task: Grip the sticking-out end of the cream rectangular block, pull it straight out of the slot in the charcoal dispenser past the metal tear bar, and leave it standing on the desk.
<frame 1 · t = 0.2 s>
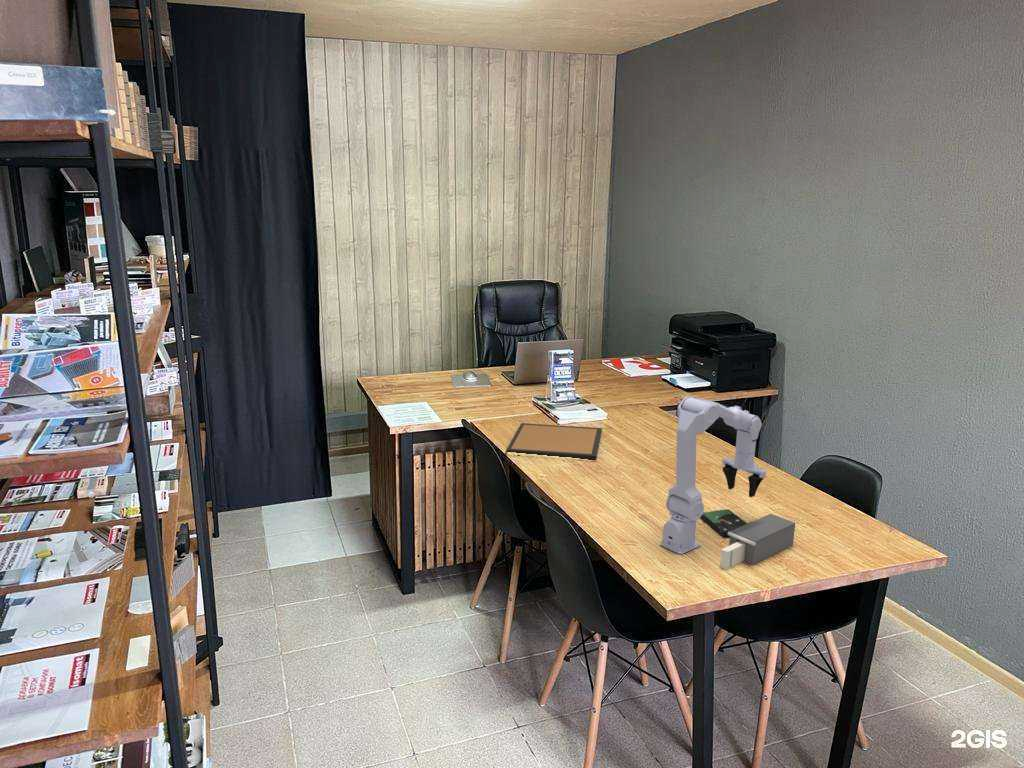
hand: (741, 492, 234), 10 cm above the table, tool pointing down, fingers open, 7 cm apart
dispenser: (752, 553, 216), on the table
cream rectangular block: (740, 560, 212), on the table
disk drive: (725, 528, 234), on the table
cork board: (556, 445, 309), on the table
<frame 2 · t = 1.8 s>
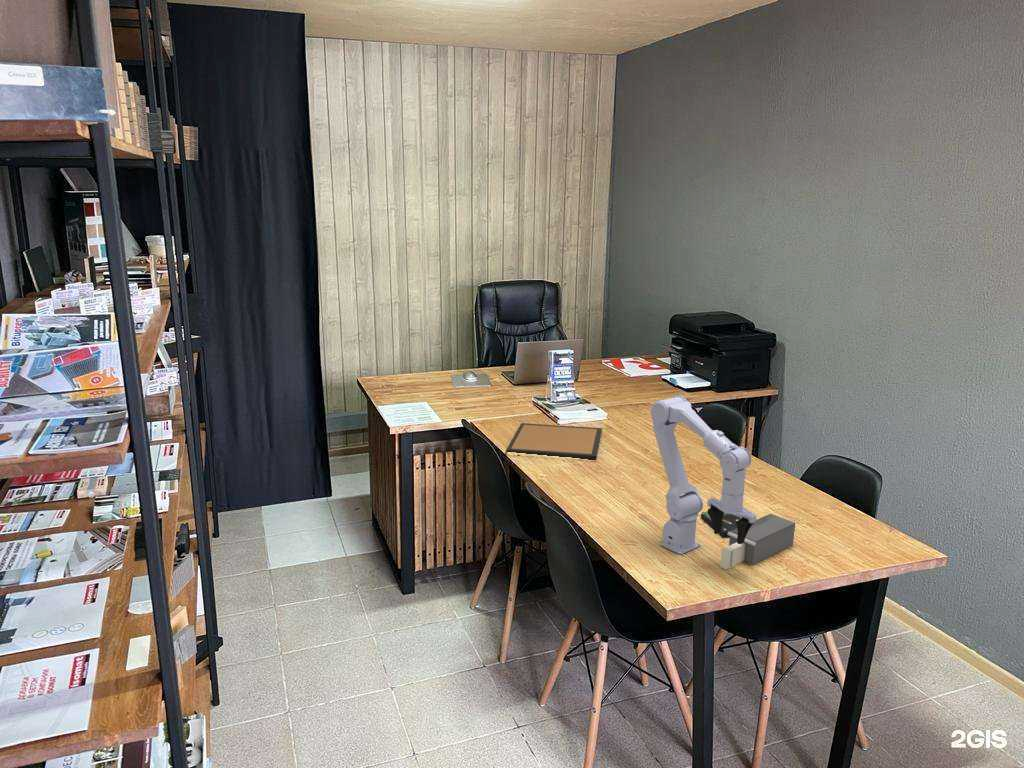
hand: (728, 537, 206), 9 cm above the table, tool pointing down, fingers open, 7 cm apart
nothing on the table moved.
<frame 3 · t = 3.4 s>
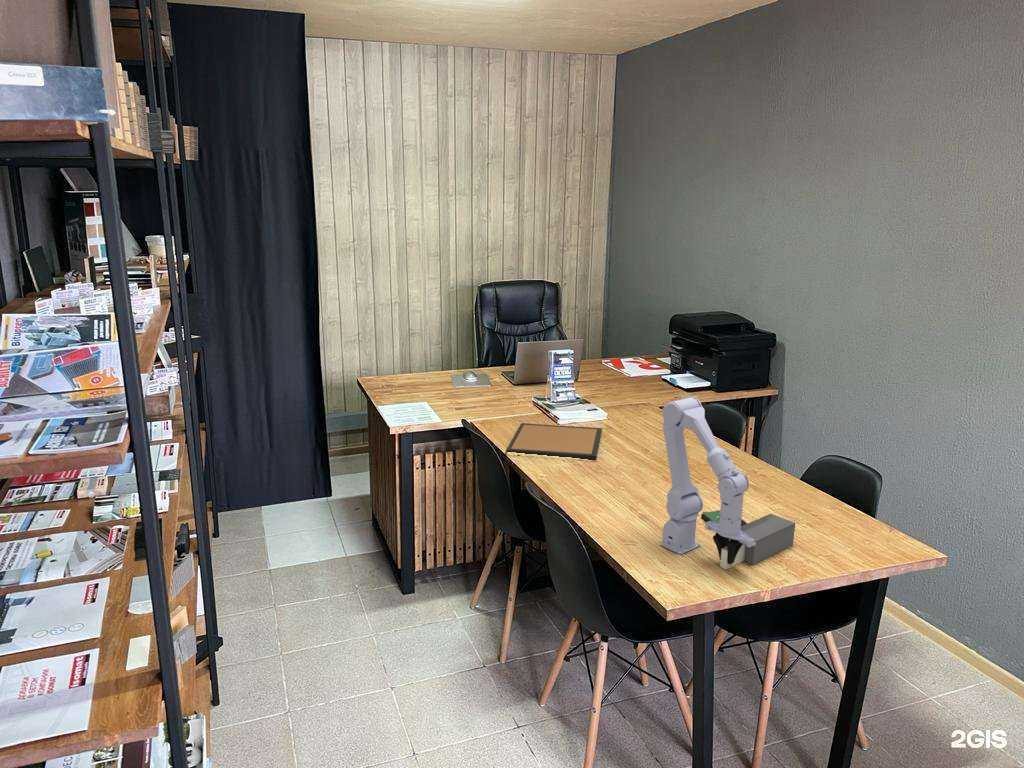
hand: (726, 561, 208), 2 cm above the table, tool pointing down, fingers closed on cream rectangular block, 2 cm apart
cream rectangular block: (740, 559, 212), on the table, touching gripper
everything else where it was.
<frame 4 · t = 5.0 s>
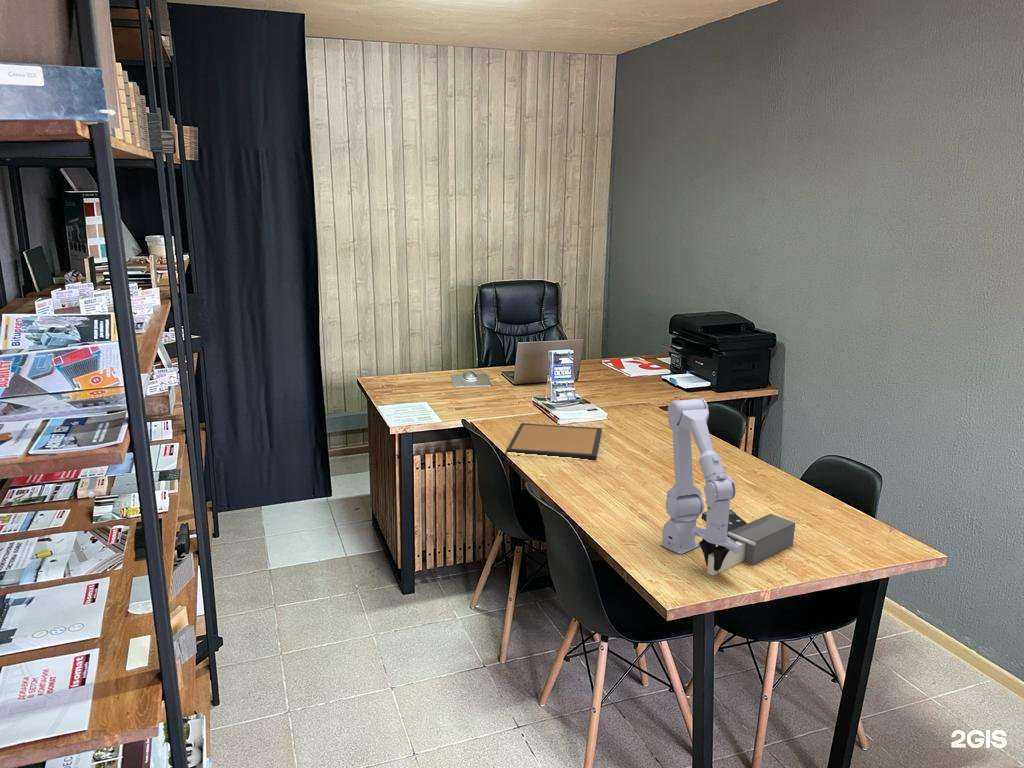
hand: (713, 567, 204), 2 cm above the table, tool pointing down, fingers closed on cream rectangular block, 2 cm apart
cream rectangular block: (727, 565, 209), on the table, touching gripper
everything else where it was.
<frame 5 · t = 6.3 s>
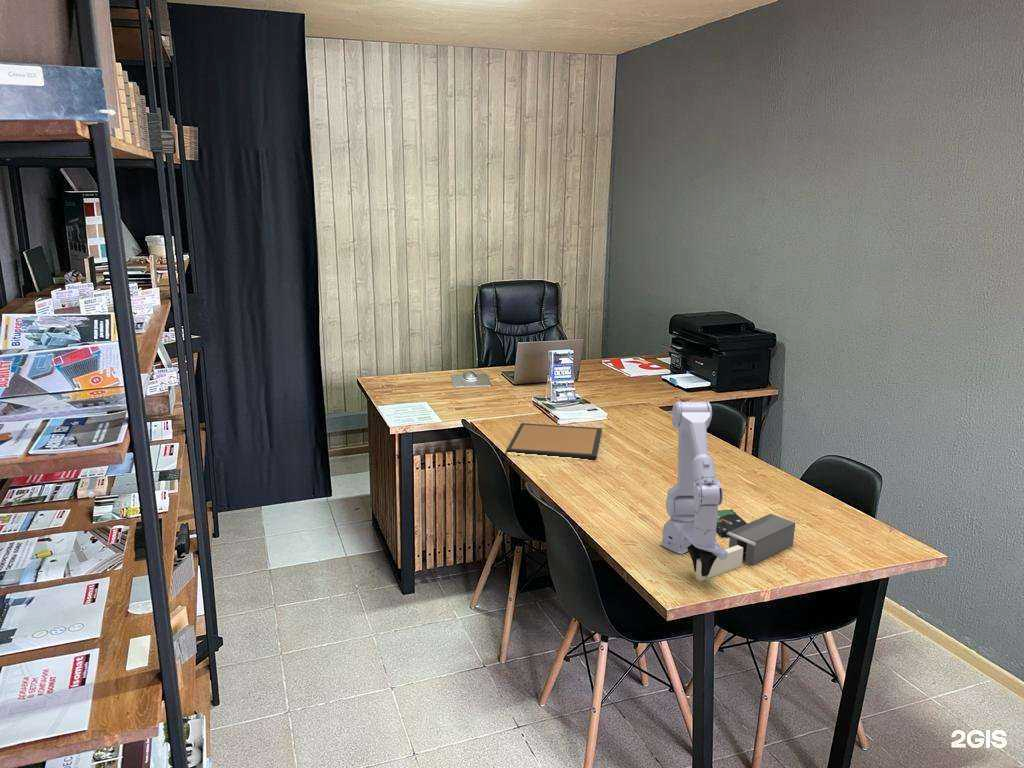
hand: (701, 573, 201), 2 cm above the table, tool pointing down, fingers closed on cream rectangular block, 2 cm apart
cream rectangular block: (718, 571, 205), on the table, touching gripper
everything else where it was.
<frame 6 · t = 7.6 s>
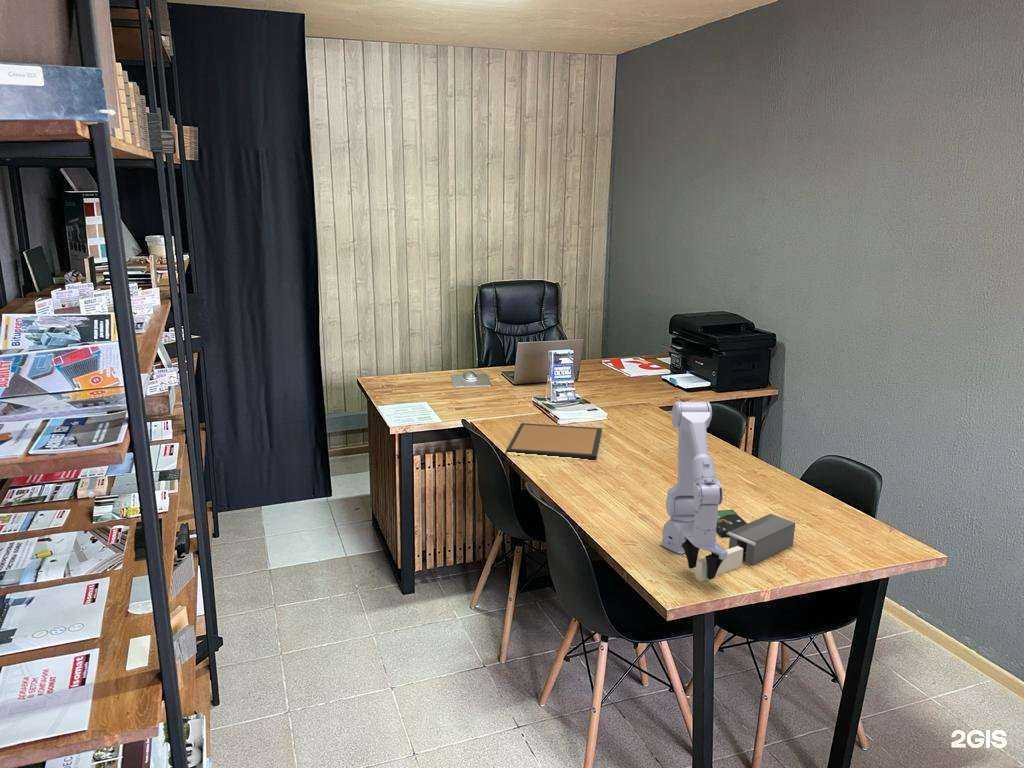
hand: (701, 572, 201), 2 cm above the table, tool pointing down, fingers open, 6 cm apart
cream rectangular block: (718, 572, 205), on the table
everything else where it was.
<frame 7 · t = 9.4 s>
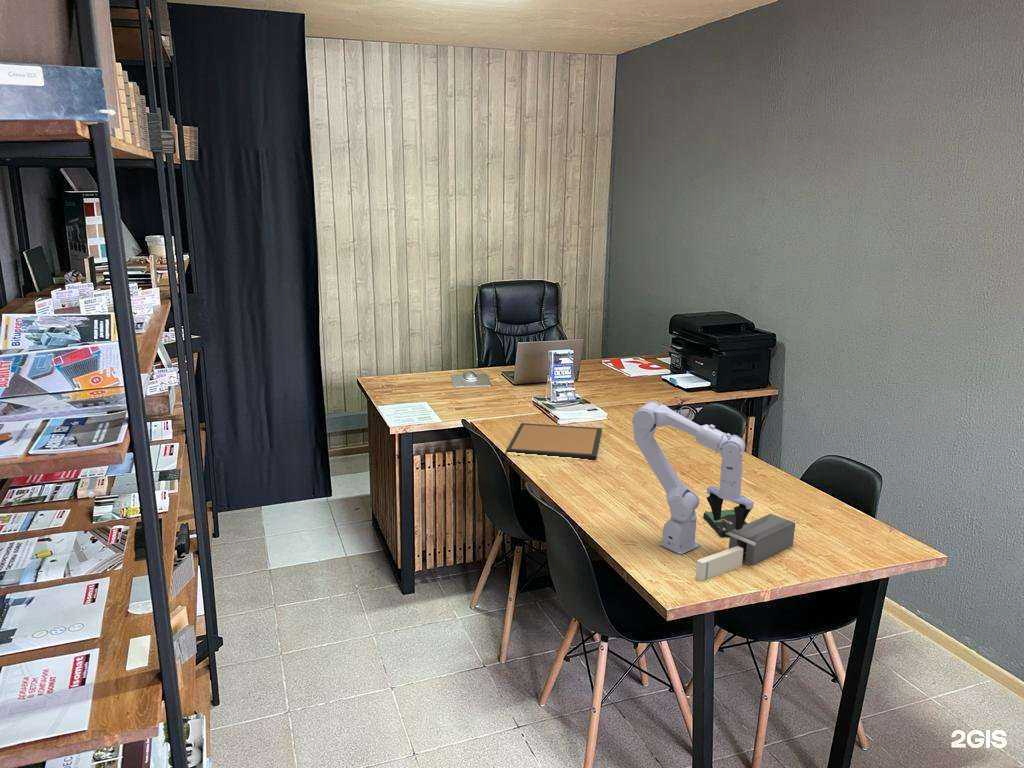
hand: (727, 524, 213), 9 cm above the table, tool pointing down, fingers open, 7 cm apart
nothing on the table moved.
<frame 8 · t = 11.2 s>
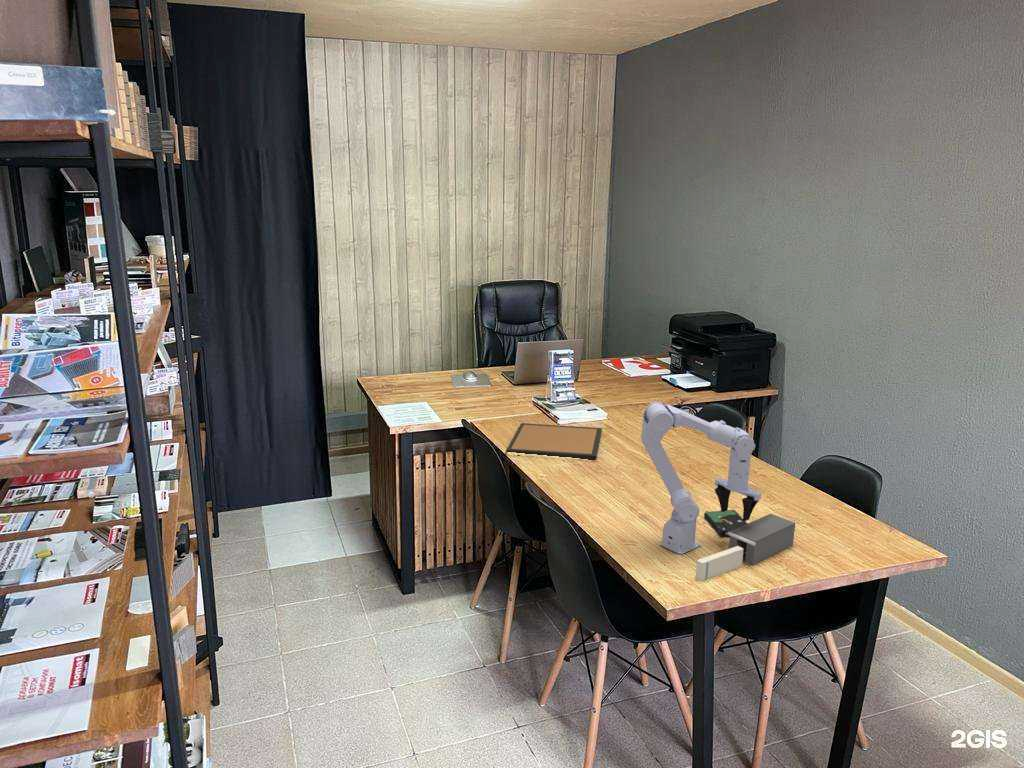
hand: (735, 515, 219), 9 cm above the table, tool pointing down, fingers open, 7 cm apart
nothing on the table moved.
at the end: cream rectangular block 1.8 cm from the target spot, on the table; the gripper is holding nothing; cream rectangular block tilted 0° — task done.
